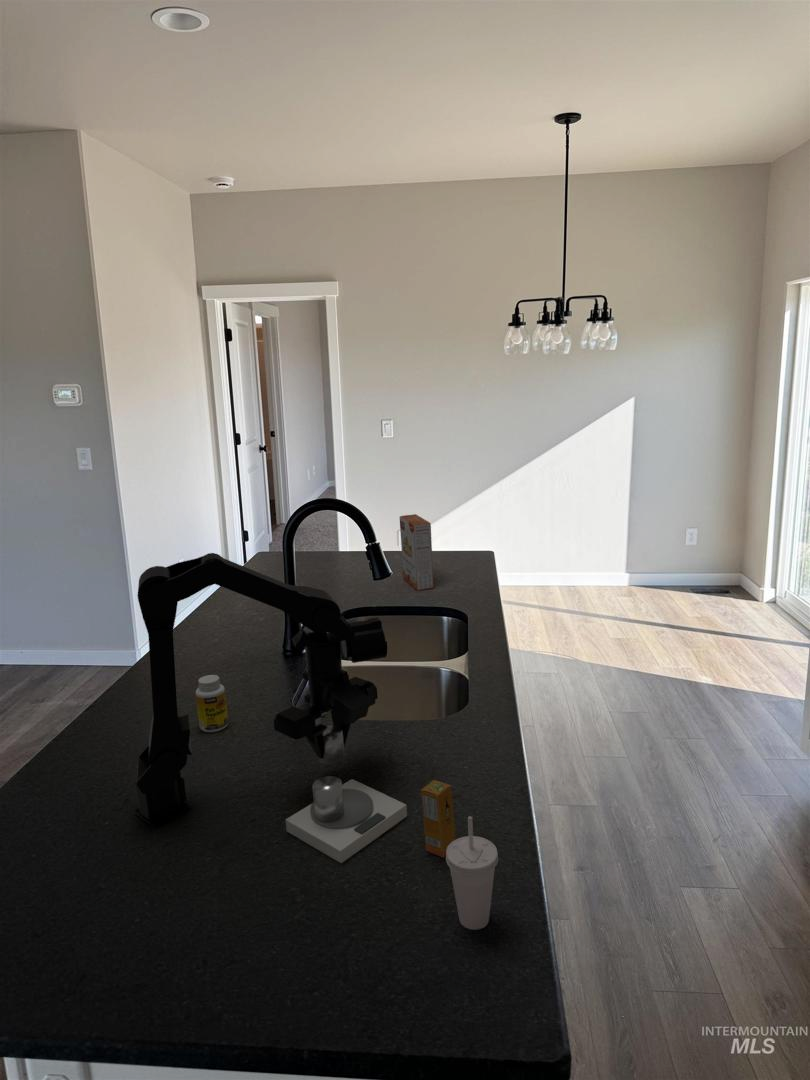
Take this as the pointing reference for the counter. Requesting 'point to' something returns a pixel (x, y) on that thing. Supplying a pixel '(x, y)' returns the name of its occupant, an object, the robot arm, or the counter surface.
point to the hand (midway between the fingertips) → (331, 752)
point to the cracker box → (416, 551)
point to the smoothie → (472, 877)
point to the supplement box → (438, 817)
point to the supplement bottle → (211, 704)
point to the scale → (348, 822)
